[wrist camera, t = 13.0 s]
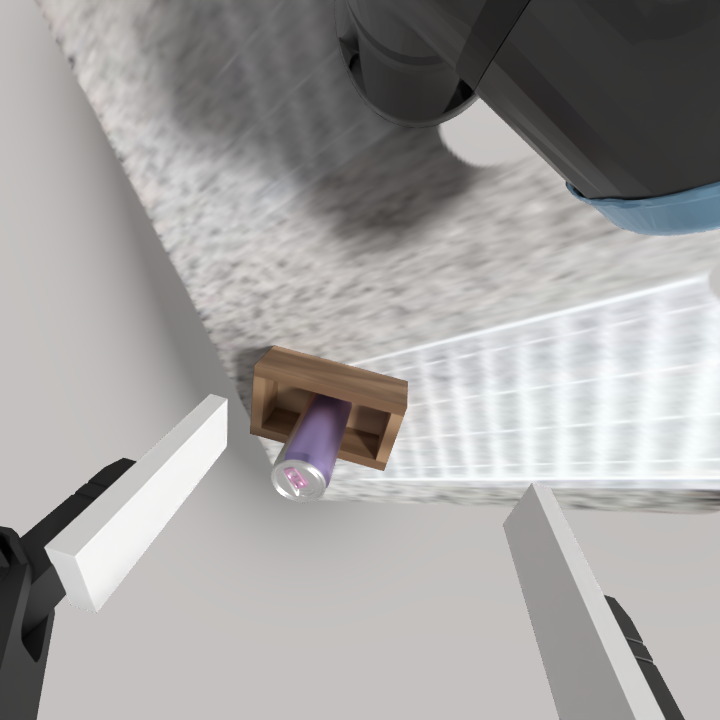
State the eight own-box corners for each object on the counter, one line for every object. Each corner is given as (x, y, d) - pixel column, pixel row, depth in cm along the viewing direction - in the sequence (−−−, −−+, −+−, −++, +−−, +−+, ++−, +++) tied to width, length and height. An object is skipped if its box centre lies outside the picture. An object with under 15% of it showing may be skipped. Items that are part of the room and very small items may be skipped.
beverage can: (340, 375, 42) (306, 453, 28) (360, 409, 43) (338, 497, 30) (304, 389, 43) (257, 469, 30) (325, 421, 45) (289, 509, 32)
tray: (274, 345, 42) (254, 365, 37) (407, 381, 42) (407, 406, 36) (268, 408, 47) (249, 433, 42) (387, 441, 47) (383, 471, 41)
